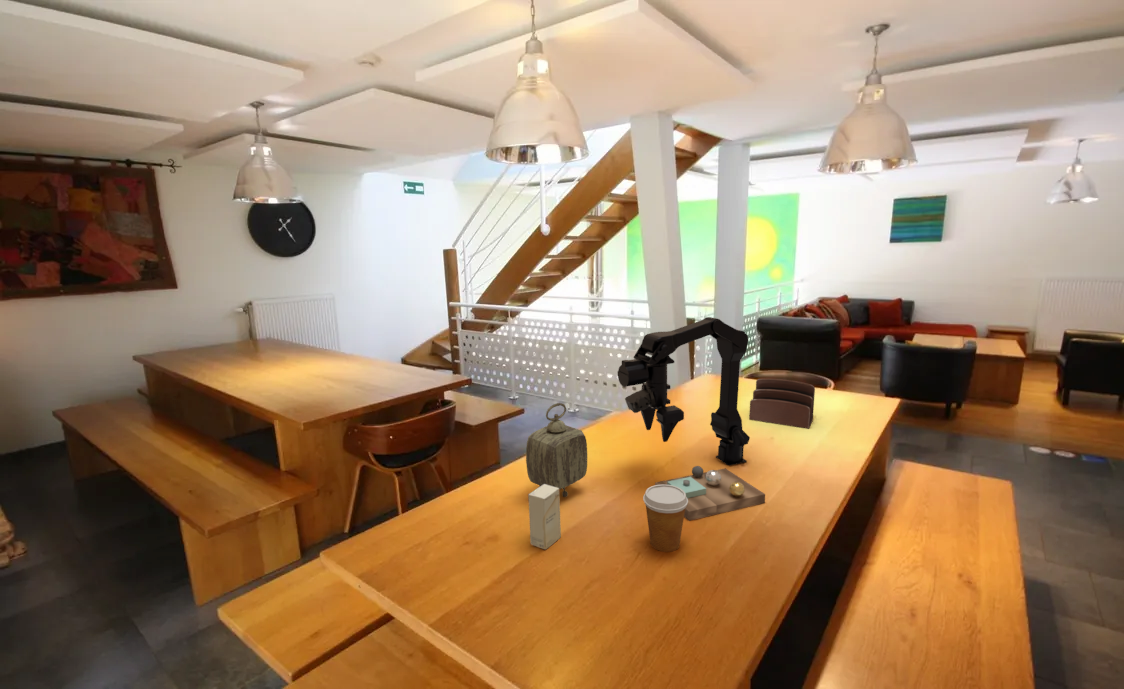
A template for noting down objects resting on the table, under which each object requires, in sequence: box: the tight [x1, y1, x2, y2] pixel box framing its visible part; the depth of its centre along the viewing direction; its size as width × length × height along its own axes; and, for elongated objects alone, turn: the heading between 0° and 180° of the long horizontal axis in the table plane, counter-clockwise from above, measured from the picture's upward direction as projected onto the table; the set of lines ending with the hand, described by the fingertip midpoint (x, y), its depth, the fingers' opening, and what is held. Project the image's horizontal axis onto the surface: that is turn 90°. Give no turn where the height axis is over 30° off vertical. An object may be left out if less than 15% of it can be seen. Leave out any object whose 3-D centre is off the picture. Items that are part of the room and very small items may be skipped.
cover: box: [667, 477, 706, 498], centre depth 134 cm, size 7×7×2 cm
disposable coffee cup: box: [642, 484, 688, 553], centre depth 115 cm, size 10×10×12 cm
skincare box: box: [527, 484, 562, 550], centre depth 117 cm, size 6×4×12 cm
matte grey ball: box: [691, 465, 704, 477], centre depth 141 cm, size 3×3×3 cm
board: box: [654, 467, 766, 522], centre depth 136 cm, size 22×16×2 cm
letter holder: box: [748, 378, 816, 430], centre depth 187 cm, size 10×20×14 cm, turn 58°
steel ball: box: [705, 469, 721, 486], centre depth 136 cm, size 4×4×4 cm
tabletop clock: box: [525, 402, 588, 498], centre depth 137 cm, size 14×9×25 cm, turn 135°
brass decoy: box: [729, 482, 745, 497], centre depth 131 cm, size 4×4×4 cm
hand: (656, 435), depth 144 cm, fingers open, 9 cm apart
